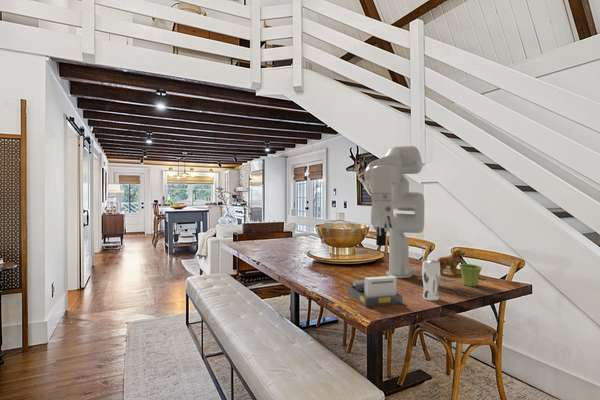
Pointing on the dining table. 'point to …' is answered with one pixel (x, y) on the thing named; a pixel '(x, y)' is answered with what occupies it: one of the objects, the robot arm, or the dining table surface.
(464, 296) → the dining table surface
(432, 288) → the beer glass
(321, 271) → the dining table surface
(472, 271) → the plant pot
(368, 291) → the panel
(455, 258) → the figurine
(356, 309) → the dining table surface
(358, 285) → the tray
